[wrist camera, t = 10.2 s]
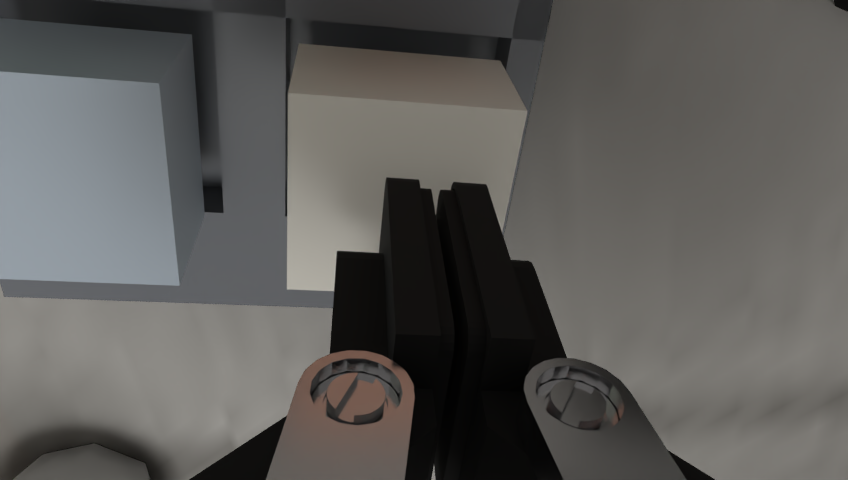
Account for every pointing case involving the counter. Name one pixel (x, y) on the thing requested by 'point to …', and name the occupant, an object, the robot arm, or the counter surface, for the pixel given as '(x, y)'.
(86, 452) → the salt shaker
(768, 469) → the counter surface
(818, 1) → the counter surface
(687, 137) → the counter surface
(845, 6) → the black flat oval
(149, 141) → the slate key
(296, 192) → the cream key
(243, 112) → the keypad base
